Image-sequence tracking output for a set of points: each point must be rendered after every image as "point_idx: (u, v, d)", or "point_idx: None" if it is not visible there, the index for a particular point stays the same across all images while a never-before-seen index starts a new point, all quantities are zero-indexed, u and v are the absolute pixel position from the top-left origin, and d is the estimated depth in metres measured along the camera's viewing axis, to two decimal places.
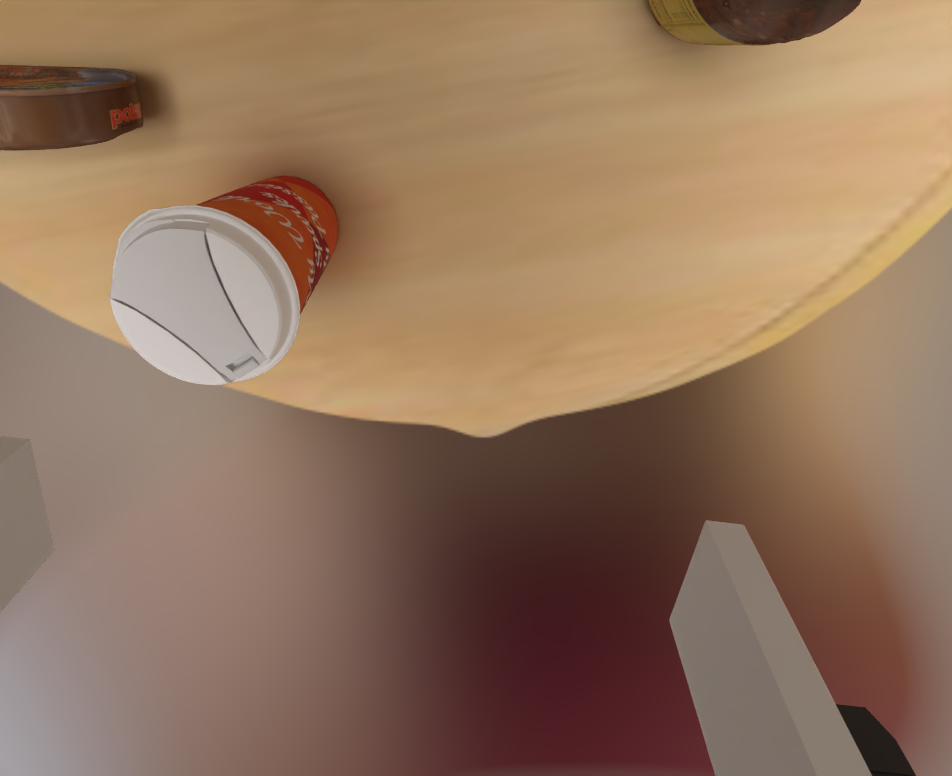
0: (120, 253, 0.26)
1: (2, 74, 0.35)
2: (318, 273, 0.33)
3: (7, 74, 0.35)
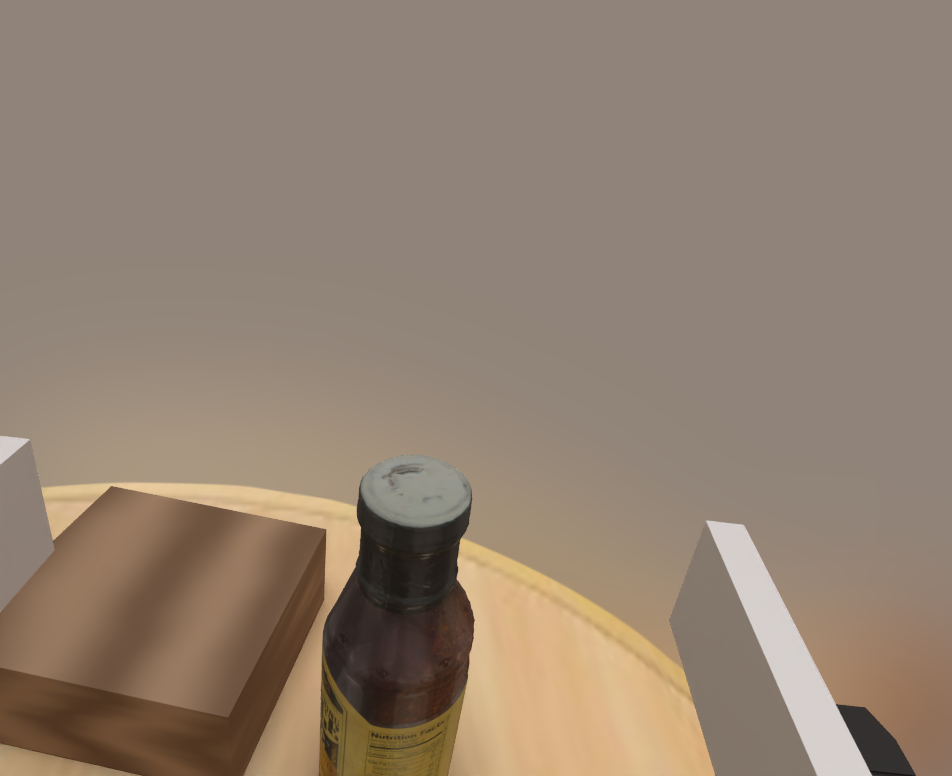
0: None
1: None
2: None
3: None
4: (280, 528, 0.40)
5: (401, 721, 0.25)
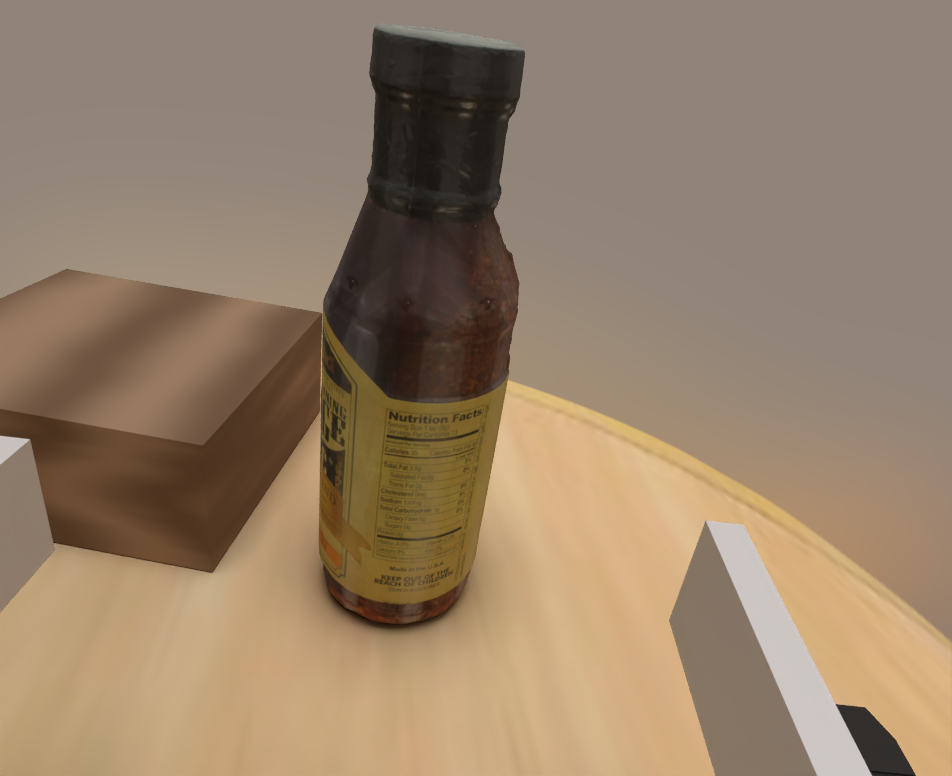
0: None
1: None
2: None
3: None
4: (267, 309, 0.34)
5: (428, 393, 0.19)
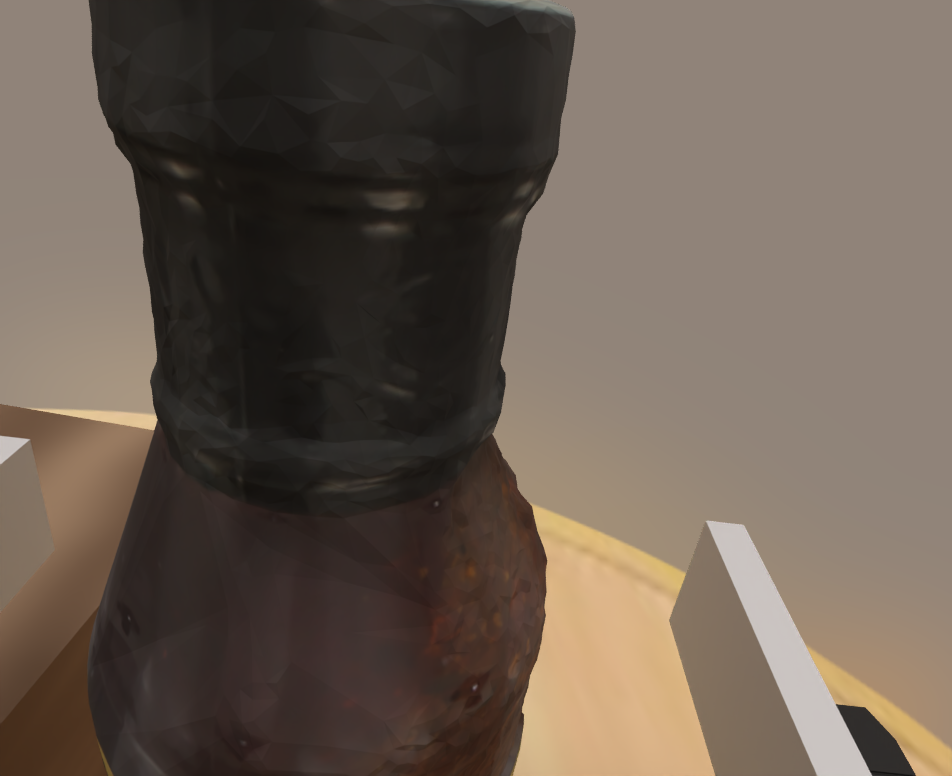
0: None
1: None
2: None
3: None
4: (148, 442, 0.22)
5: None
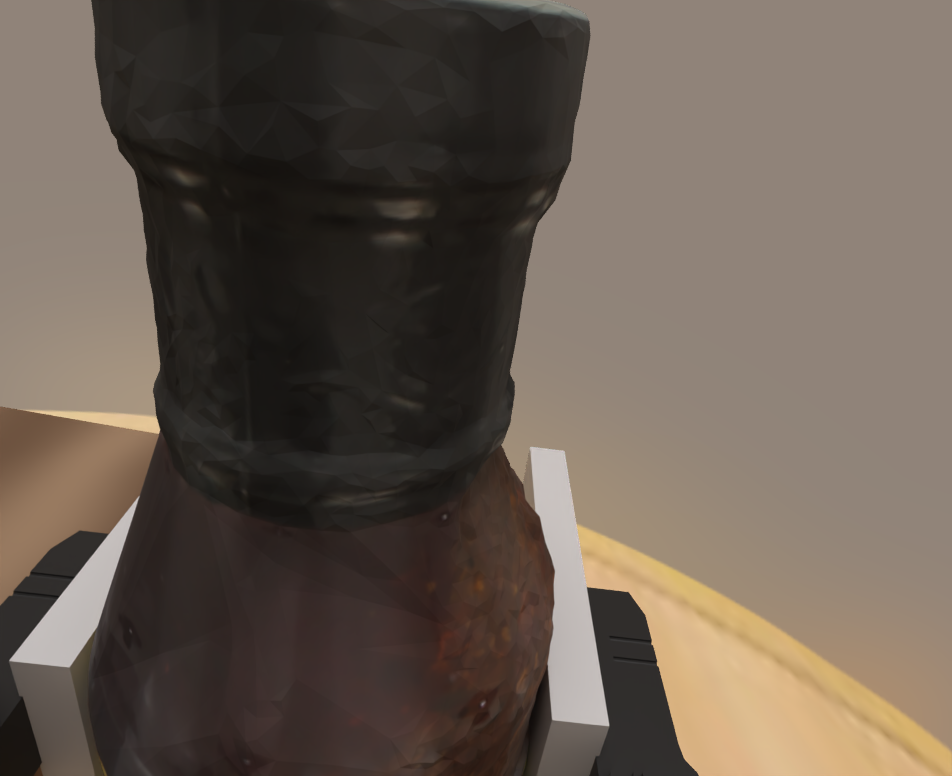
0: None
1: None
2: None
3: None
4: (150, 445, 0.22)
5: None
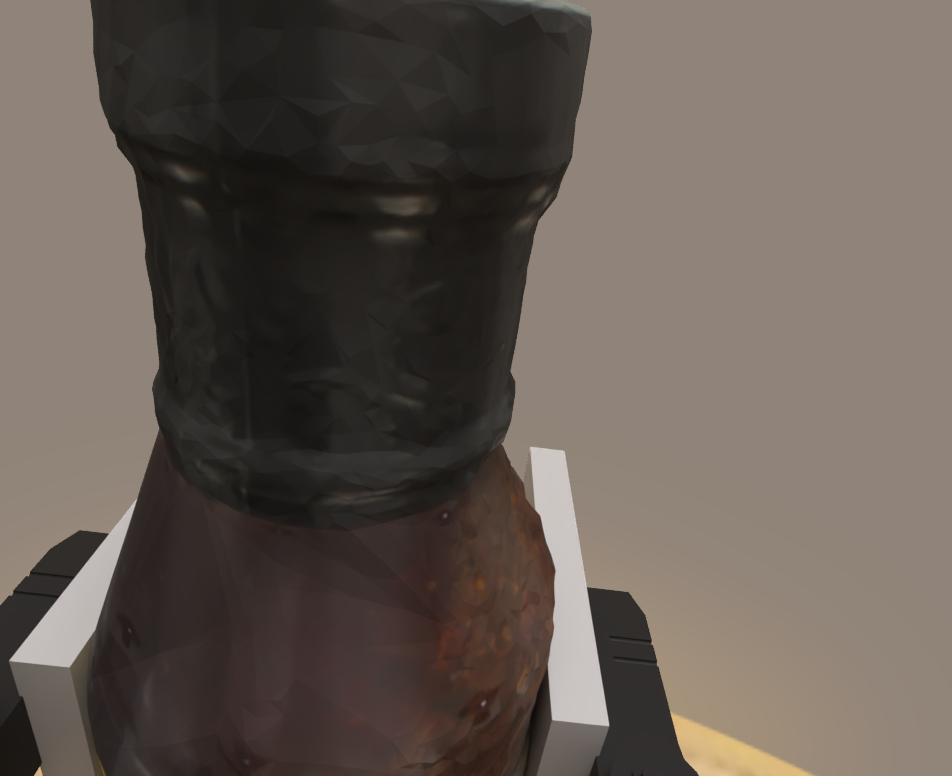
0: None
1: None
2: None
3: None
4: None
5: None
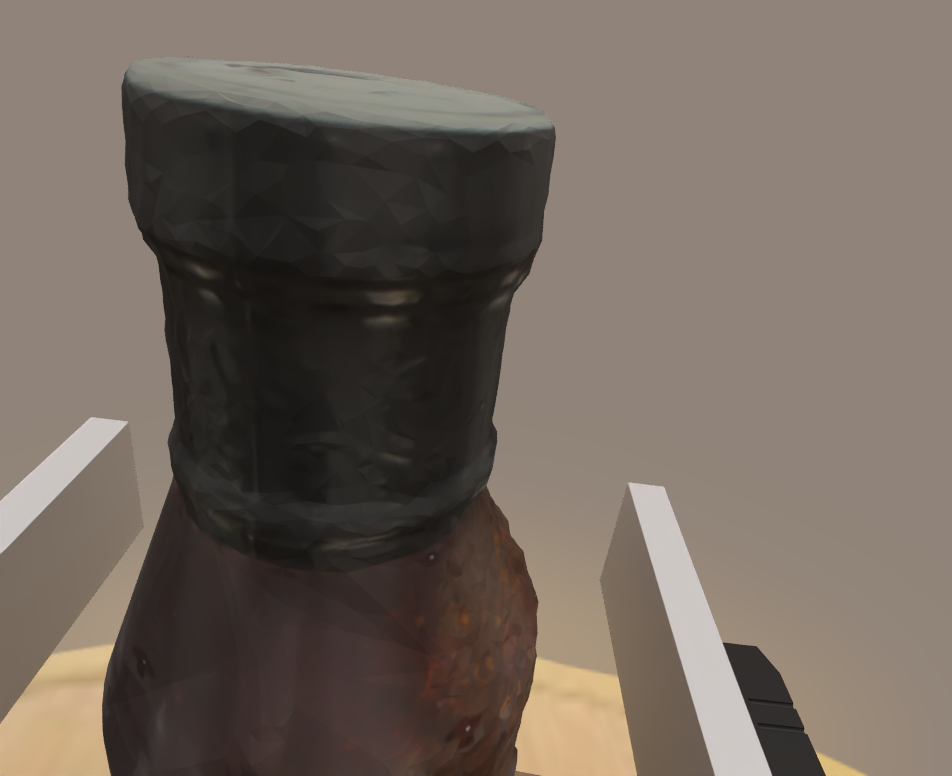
0: None
1: None
2: None
3: None
4: None
5: None
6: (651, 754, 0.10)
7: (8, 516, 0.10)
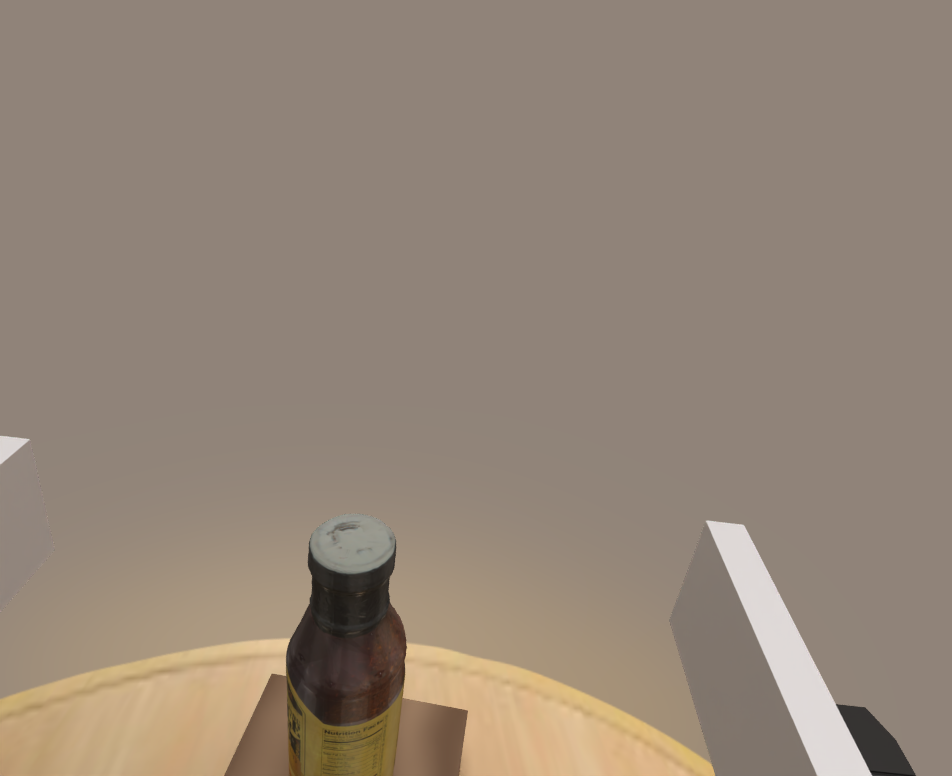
0: None
1: None
2: None
3: None
4: (428, 712, 0.45)
5: (347, 720, 0.33)
6: None
7: None
